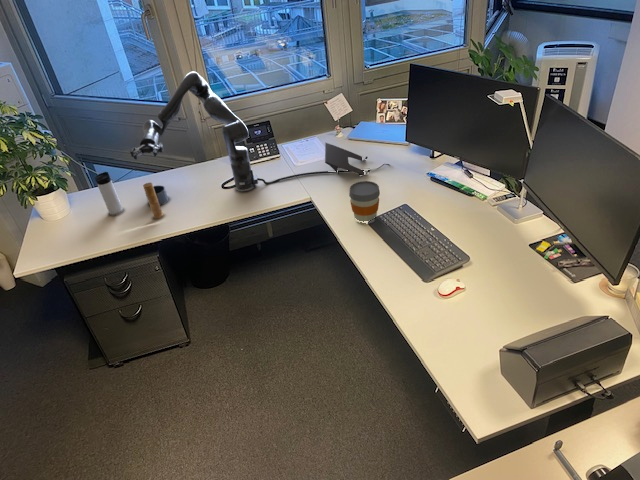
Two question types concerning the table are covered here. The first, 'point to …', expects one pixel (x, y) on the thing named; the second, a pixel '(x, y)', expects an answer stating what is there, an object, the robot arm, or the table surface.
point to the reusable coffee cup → (364, 200)
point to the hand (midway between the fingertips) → (145, 156)
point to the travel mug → (109, 193)
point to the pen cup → (161, 194)
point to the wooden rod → (153, 200)
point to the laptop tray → (341, 158)
